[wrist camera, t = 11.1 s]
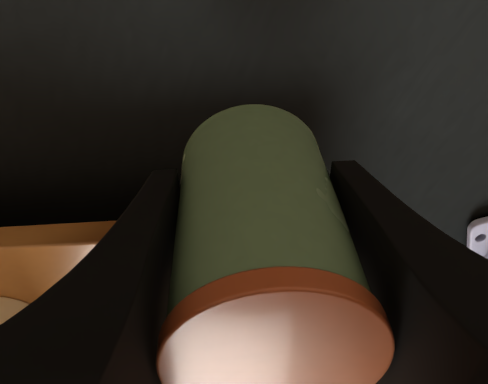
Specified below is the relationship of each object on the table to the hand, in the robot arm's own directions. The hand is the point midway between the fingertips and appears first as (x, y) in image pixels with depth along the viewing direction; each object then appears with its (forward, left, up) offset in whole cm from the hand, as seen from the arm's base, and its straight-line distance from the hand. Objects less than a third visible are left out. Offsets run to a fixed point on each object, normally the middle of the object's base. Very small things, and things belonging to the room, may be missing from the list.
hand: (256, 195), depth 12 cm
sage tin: (0, 0, -1) cm, 1 cm away
